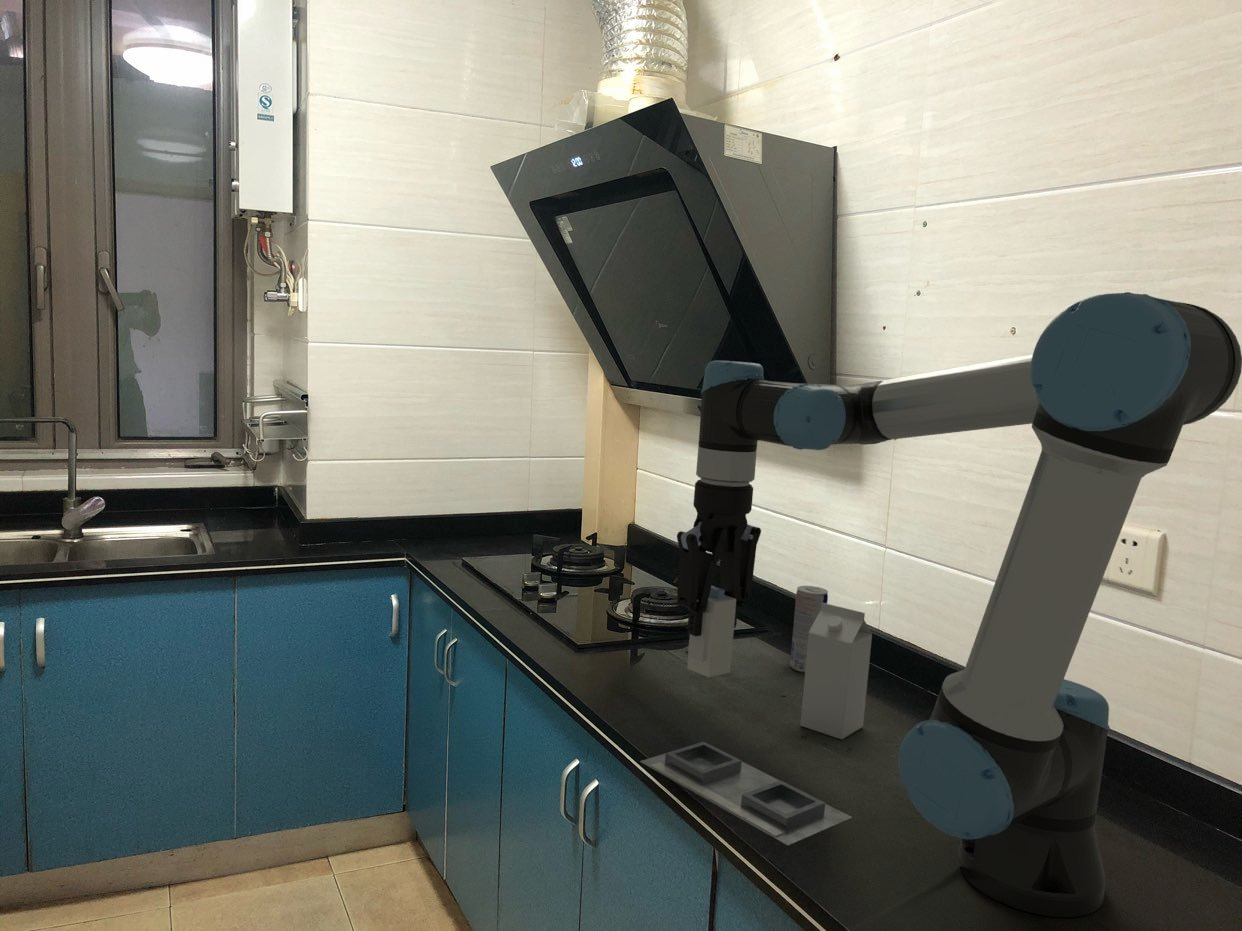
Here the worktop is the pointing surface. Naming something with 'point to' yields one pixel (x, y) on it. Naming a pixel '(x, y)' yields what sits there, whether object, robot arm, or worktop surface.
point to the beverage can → (805, 622)
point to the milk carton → (836, 672)
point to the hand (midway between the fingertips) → (709, 655)
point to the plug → (717, 635)
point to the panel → (747, 792)
